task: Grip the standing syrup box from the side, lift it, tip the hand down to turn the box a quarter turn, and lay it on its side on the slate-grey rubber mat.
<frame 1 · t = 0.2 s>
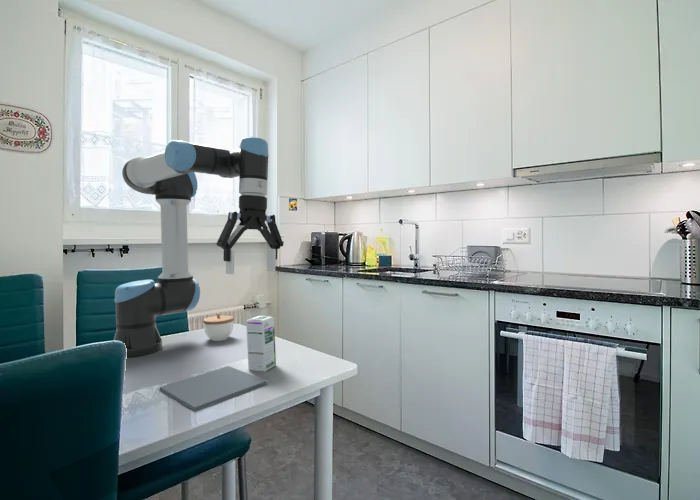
hand: (251, 272, 104), 28 cm above the table, tool pointing down, fingers open, 13 cm apart
syrup box: (262, 368, 107), on the table
lidded jar: (219, 339, 140), on the table
mat: (214, 386, 94), on the table
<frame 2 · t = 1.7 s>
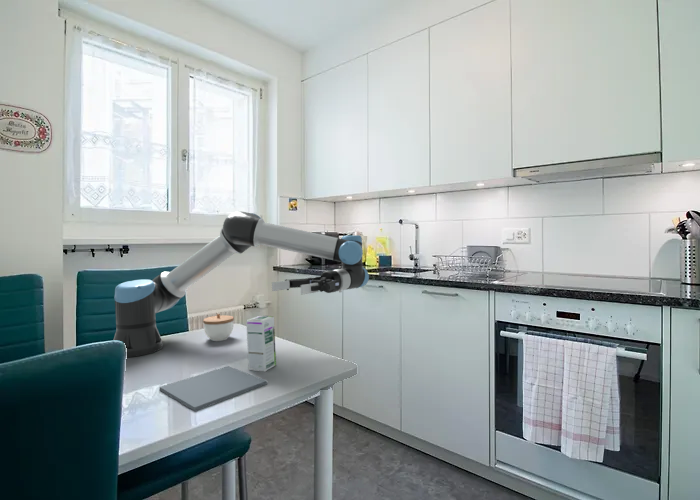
hand: (286, 288, 114), 22 cm above the table, tool horizontal, fingers open, 13 cm apart
nothing on the table moved.
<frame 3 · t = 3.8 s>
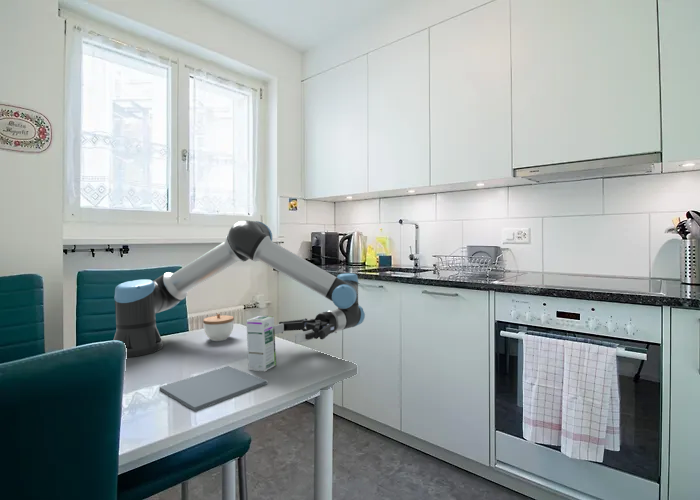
hand: (280, 335, 112), 8 cm above the table, tool horizontal, fingers open, 13 cm apart
nothing on the table moved.
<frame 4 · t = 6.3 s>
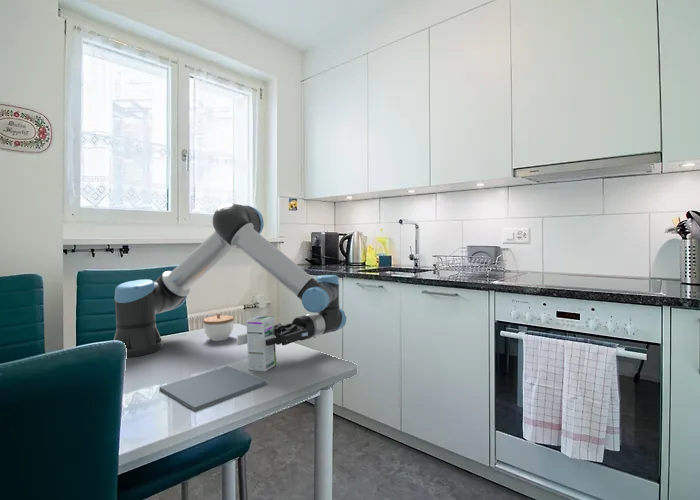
hand: (246, 342, 103), 8 cm above the table, tool horizontal, fingers closed on syrup box, 7 cm apart
syrup box: (262, 368, 107), on the table, touching gripper
everything else where it was.
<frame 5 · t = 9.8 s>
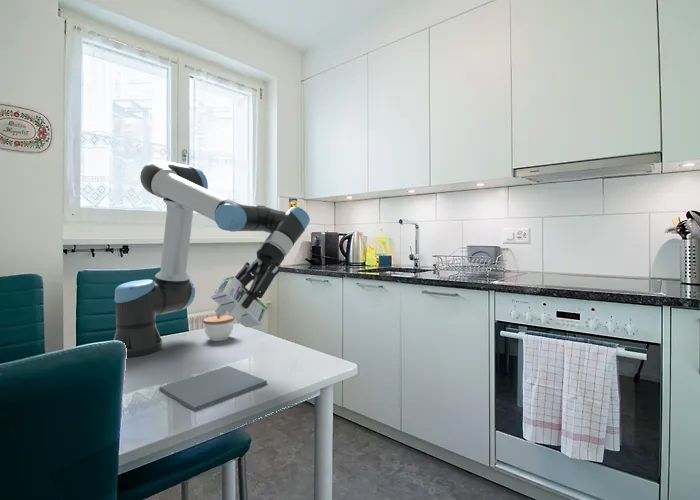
hand: (226, 315, 98), 17 cm above the table, tool tilted 45°, fingers closed on syrup box, 7 cm apart
syrup box: (257, 318, 105), point 15 cm above the table, touching gripper
everything else where it was.
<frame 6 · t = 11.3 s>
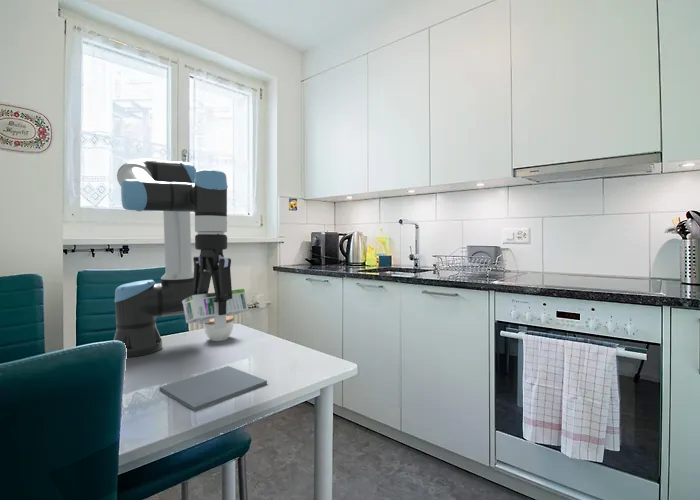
hand: (212, 325, 94), 16 cm above the table, tool pointing down, fingers closed on syrup box, 7 cm apart
syrup box: (241, 301, 100), point 20 cm above the table, touching gripper
everything else where it was.
when the fingers open (2 cm above the table, at t = 15.3 s): syrup box drops 3 cm, resting on mat.
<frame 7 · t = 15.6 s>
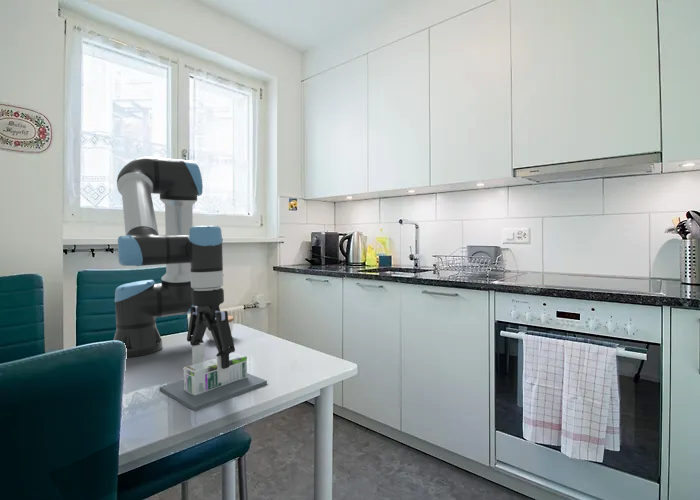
hand: (210, 375, 93), 3 cm above the table, tool pointing down, fingers open, 11 cm apart
syrup box: (241, 364, 100), point 4 cm above the table, touching mat
everything else where it was.
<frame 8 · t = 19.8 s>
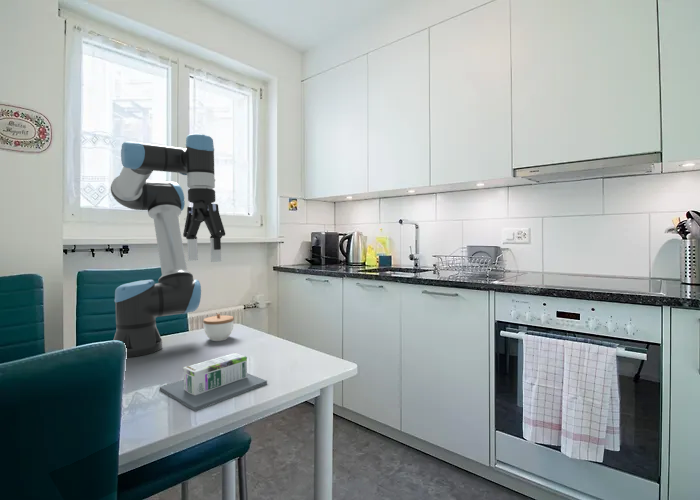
hand: (204, 261, 111), 31 cm above the table, tool pointing down, fingers open, 13 cm apart
nothing on the table moved.
at the end: syrup box tilted 90°; syrup box inside the target area on the mat (7.3 cm from its centre), point 3.6 cm above the mat's base; the gripper is holding nothing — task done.
